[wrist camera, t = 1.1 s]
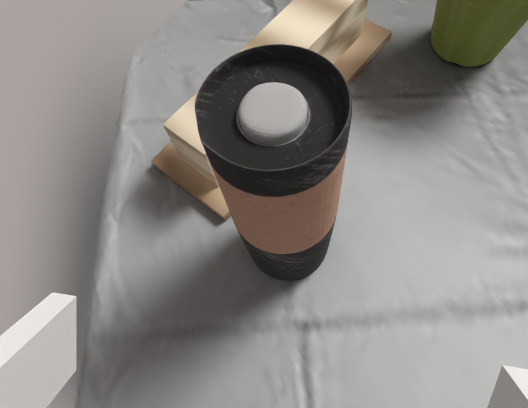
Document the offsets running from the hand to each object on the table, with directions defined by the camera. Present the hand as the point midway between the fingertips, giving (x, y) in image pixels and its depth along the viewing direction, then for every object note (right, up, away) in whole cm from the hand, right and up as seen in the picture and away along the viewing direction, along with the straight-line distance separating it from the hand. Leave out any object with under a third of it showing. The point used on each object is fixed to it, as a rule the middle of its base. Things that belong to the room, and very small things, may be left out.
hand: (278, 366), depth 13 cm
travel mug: (+2, +1, +25) cm, 25 cm away
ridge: (+1, +16, +31) cm, 35 cm away
